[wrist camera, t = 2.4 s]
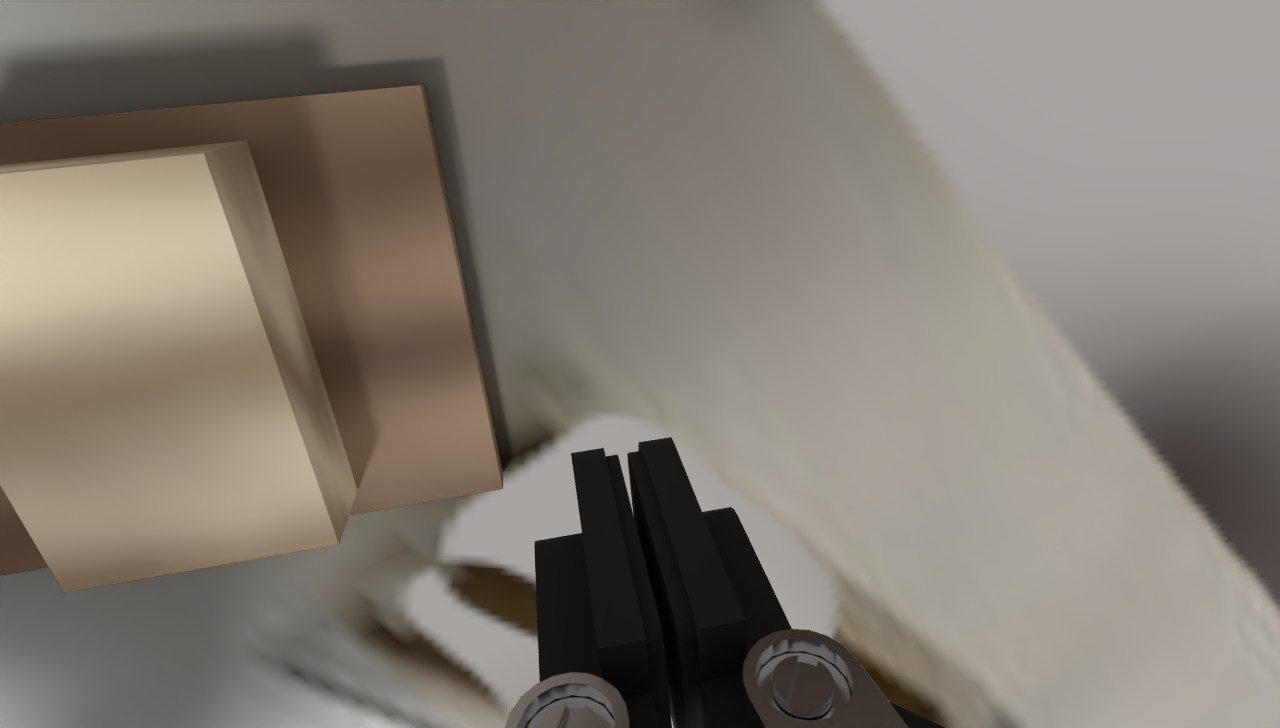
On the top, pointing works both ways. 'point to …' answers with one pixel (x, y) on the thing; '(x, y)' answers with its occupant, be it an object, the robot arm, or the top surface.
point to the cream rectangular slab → (158, 370)
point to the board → (338, 276)
